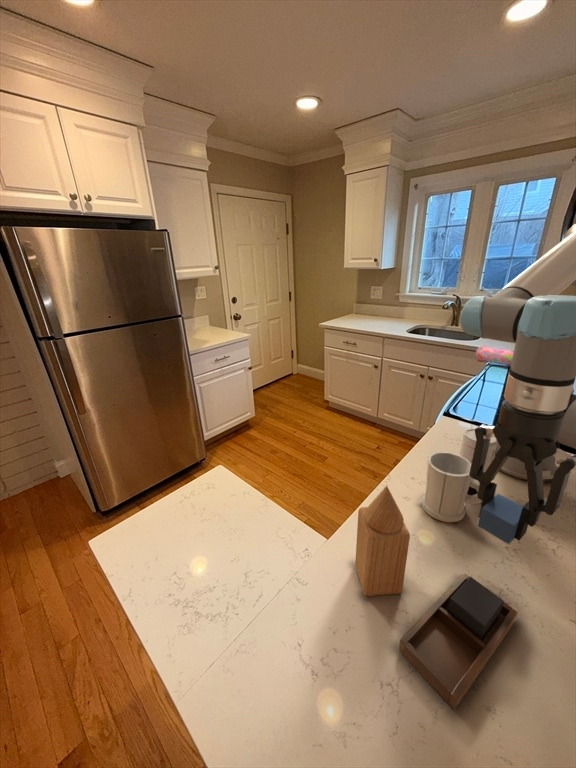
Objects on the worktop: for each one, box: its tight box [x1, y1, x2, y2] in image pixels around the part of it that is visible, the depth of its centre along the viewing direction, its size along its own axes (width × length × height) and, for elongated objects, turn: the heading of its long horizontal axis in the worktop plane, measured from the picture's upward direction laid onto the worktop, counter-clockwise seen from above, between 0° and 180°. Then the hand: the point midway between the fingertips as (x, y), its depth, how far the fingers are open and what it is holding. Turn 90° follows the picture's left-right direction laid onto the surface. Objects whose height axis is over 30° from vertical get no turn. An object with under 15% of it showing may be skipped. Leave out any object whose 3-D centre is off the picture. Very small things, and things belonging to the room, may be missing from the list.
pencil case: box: [475, 344, 514, 368], centre depth 161 cm, size 21×9×9 cm, turn 40°
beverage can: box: [459, 428, 497, 496], centre depth 74 cm, size 6×7×15 cm
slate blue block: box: [477, 493, 524, 545], centre depth 55 cm, size 6×5×4 cm
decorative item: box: [354, 485, 411, 597], centre depth 53 cm, size 7×7×20 cm
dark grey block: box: [447, 576, 505, 641], centre depth 49 cm, size 6×5×4 cm
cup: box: [420, 451, 482, 523], centre depth 69 cm, size 10×9×12 cm
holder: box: [398, 572, 519, 710], centre depth 47 cm, size 17×8×2 cm, turn 126°
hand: (501, 524), depth 56 cm, fingers closed on slate blue block, 5 cm apart
